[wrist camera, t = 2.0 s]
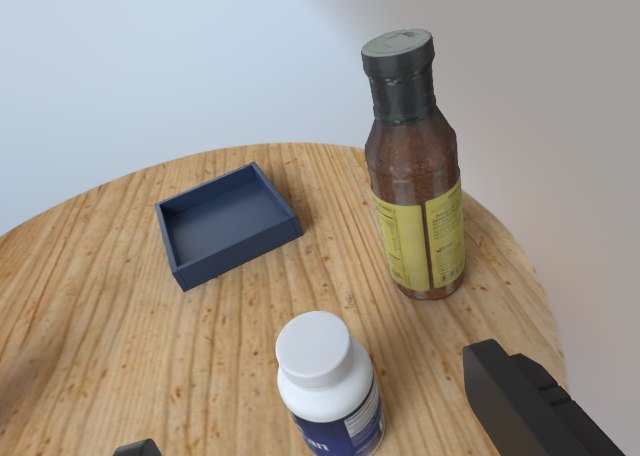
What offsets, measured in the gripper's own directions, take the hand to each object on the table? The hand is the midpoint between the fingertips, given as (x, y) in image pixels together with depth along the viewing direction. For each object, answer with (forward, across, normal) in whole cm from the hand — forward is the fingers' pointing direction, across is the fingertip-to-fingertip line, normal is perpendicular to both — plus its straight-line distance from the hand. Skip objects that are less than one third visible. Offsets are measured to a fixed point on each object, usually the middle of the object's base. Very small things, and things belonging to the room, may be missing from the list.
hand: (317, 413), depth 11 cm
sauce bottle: (+21, -11, +13) cm, 27 cm away
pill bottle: (+12, -1, +15) cm, 19 cm away
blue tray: (+37, +6, +10) cm, 39 cm away
